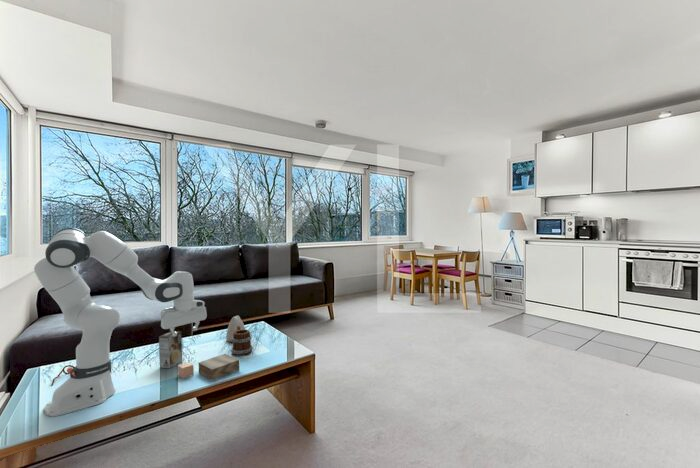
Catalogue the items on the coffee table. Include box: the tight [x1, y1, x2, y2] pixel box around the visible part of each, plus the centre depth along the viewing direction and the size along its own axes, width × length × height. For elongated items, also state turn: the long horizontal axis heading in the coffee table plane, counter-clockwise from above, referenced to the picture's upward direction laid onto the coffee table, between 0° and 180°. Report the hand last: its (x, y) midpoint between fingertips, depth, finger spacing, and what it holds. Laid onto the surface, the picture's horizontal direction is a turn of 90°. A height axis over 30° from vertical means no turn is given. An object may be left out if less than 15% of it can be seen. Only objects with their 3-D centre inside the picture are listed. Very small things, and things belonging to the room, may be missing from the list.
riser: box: [198, 353, 240, 381], centre depth 159 cm, size 14×13×5 cm
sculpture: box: [225, 315, 246, 343], centre depth 205 cm, size 13×12×15 cm
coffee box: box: [158, 330, 183, 369], centre depth 168 cm, size 9×6×16 cm
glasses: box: [50, 364, 75, 387], centre depth 155 cm, size 13×13×5 cm
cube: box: [177, 361, 195, 379], centre depth 155 cm, size 5×5×5 cm
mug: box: [230, 326, 254, 357], centre depth 184 cm, size 12×14×15 cm
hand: (185, 333), depth 155 cm, fingers open, 8 cm apart
